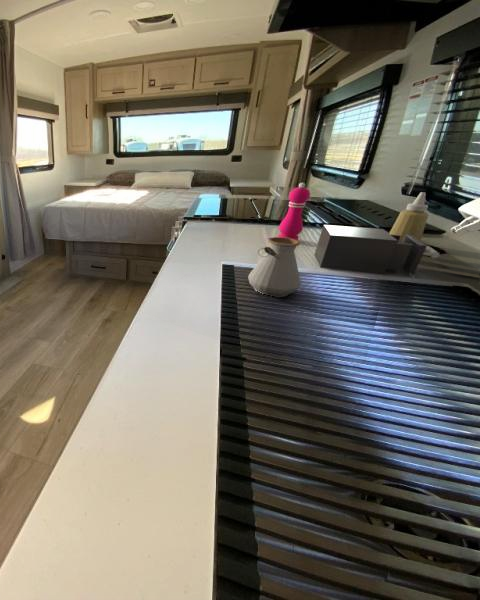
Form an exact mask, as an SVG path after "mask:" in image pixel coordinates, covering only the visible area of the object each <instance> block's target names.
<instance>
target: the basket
mask: <svg viewBox="0 0 480 600" xmlns="http://www.w3.org/2000/svg"><path fill="white" fill-rule="evenodd" d="M390 235H391V234H390ZM391 236H393V237H394V238H395V239H397V240H398V241H399V239H400V235H391ZM423 256H429V257H430V258H432V259H437V258H439V257H440V252H439V251H437V250H435V249H434V248H432V247H431V246H428V245H427V244H425V243H424V242H422V241H419V240H417V239H416V238H415V237H413V236H412V235H408V234H405V236H404V238H403V241H402V243H398V242H397V244H396V246H395V249H394V251H393V254H392V256H391V258H390V261H389V263H388V266H387V268H386V270H389V271H399V272H401V271H402V270H404V271H405V272H406V273H407V274H408V275H414V274H415V272H416V271H417V269H418V266H419V264H420V262H421V260H422V257H423Z"/></svg>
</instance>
